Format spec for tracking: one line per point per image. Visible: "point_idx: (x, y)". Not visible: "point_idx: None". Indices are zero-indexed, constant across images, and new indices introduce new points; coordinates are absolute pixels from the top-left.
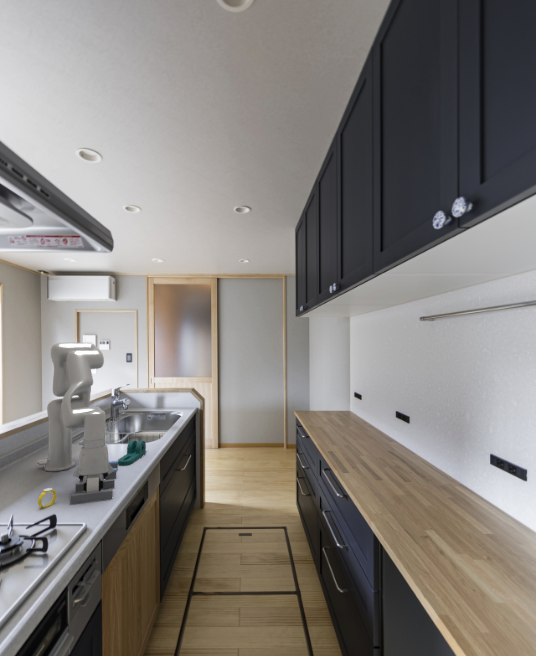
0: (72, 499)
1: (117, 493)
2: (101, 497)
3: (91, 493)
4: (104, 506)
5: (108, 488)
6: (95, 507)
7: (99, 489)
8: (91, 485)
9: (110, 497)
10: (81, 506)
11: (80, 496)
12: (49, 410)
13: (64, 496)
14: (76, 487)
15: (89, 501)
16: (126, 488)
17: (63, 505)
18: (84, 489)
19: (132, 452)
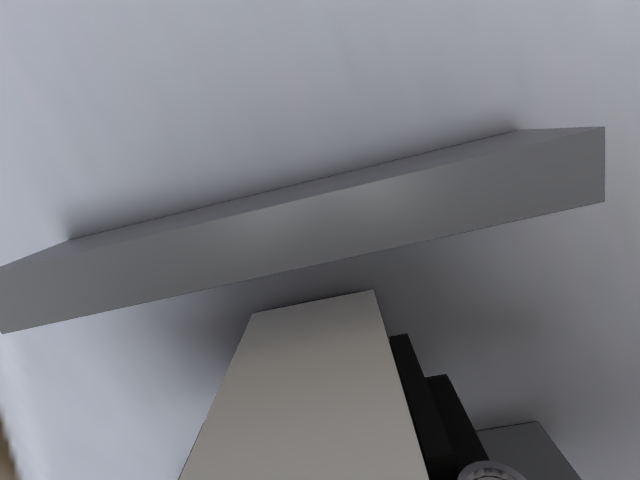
0: (526, 136)
1: (88, 369)
2: (158, 224)
3: (260, 208)
4: (47, 28)
5: None
6: (151, 5)
7: None
8: (321, 399)
9: (70, 243)
10: (352, 58)
11: (423, 166)
12: None
13: (632, 355)
14: (562, 476)
15: (299, 184)
16: (61, 462)
17: (596, 113)
18: (435, 381)
19: None
